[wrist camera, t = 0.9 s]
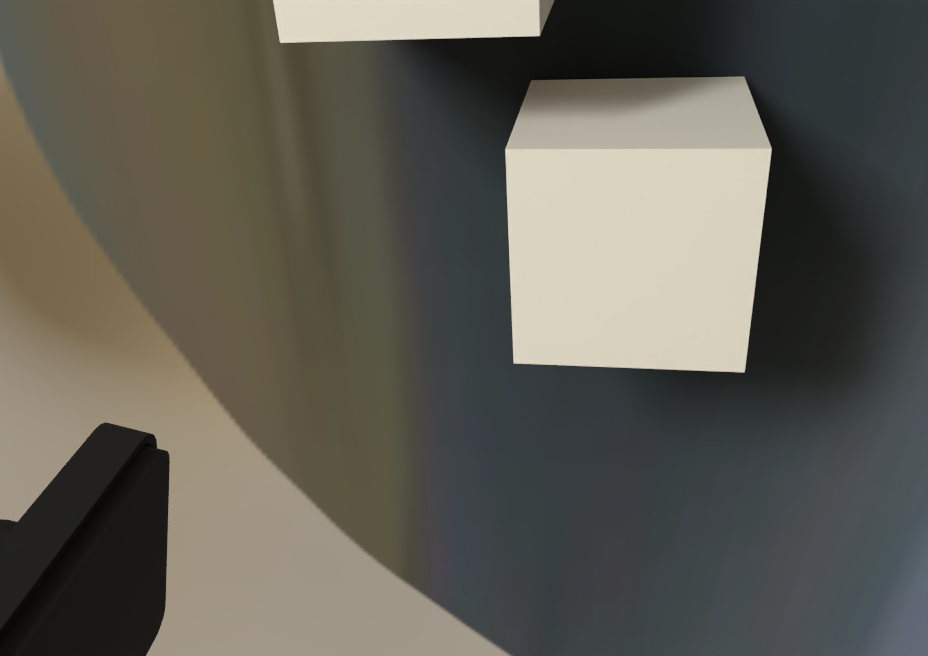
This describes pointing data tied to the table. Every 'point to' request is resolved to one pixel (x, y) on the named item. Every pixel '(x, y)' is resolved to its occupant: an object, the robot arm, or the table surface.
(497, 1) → the large plain cream block
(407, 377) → the table surface
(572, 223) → the plain off-white cube
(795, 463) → the table surface
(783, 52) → the table surface
